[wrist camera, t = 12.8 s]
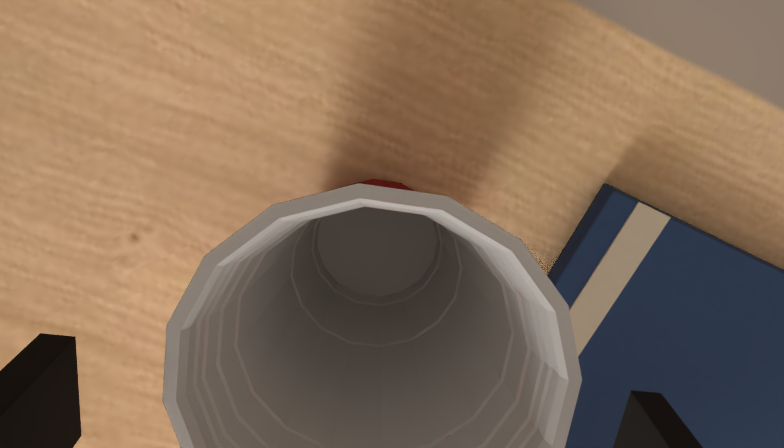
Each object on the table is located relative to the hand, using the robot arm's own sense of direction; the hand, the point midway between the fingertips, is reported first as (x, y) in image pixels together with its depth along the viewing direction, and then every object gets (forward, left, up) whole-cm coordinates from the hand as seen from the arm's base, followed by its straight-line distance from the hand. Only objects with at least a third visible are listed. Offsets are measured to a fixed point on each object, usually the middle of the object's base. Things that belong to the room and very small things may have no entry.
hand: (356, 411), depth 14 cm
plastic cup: (0, 0, -13) cm, 13 cm away
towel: (+14, +13, -13) cm, 23 cm away
